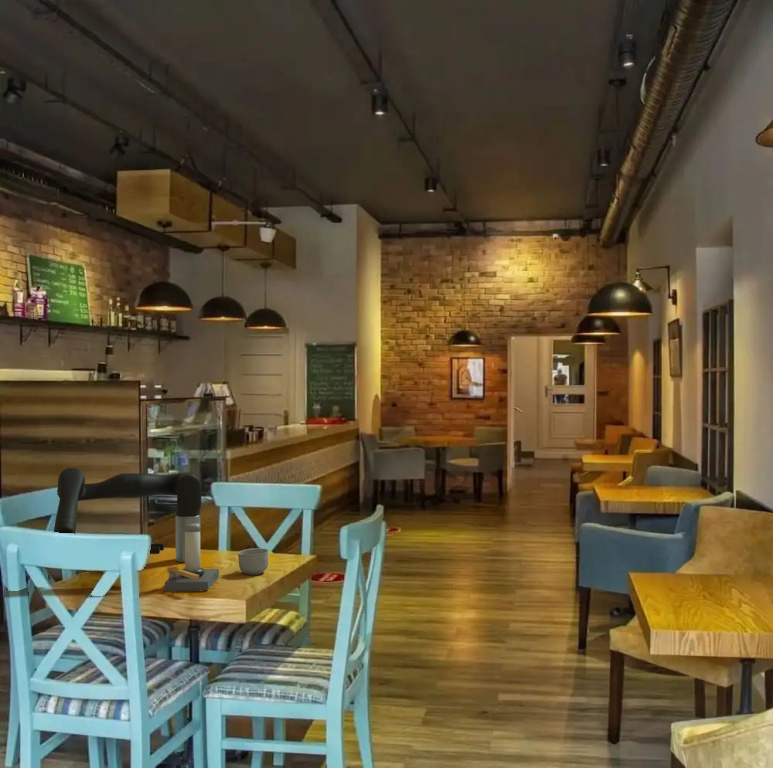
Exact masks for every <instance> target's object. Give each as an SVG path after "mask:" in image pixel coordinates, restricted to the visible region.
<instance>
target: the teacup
mask: <svg viewBox="0 0 773 768" xmlns="http://www.w3.org/2000/svg"><path fill="white" fill-rule="evenodd" d="M237 555H238V557H237V558H238V559H237V561H238V567H239V569H240V571H241V572H242V573H244V574H245V575H249V576H251V575H252V576H254V575H259V574H263V573H265V571H266V570H267V569H268V567H269V549H268V548H263V547H259V548H257V547H255V548H253V547H251V548H248V549H246V548H245V549H242V550H239V551H238V552H237Z"/></svg>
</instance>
